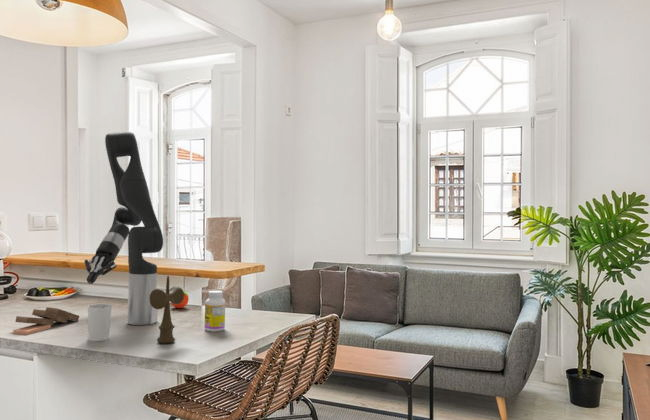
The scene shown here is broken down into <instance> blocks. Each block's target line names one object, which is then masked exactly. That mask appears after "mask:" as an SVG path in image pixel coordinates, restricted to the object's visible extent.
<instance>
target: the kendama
mask: <svg viewBox="0 0 650 420" xmlns="http://www.w3.org/2000/svg"><path fill="white" fill-rule="evenodd" d="M183 291H184V290H183V288H181V287H180V286H177V285H176V286H172V287H170V276H169V275H167V276H166V284H165V291H164V290H163V289H160V288H156V289H154V290H153V291H152V292H151V294H150V304H151V306H152V307H153V308H155V309H158V310H162V309H163V314H162V319H161V322H160V323H161V324H160V325H159V326H158V329H159V337H158V338H157V340H156V342H158V343H159V344H163V345H164V344H165V345H166V344H172V343H174V342H175V341H176V338H175V337H174V335H173V333H174V331H173V330H174V329H175V325H174V324H173V322H172V316H171V307H170V305H171V303H174V304H180V303H182V301H183V299H184V292H185V291H184V292H183Z"/></svg>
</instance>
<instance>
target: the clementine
mask: <svg viewBox="0 0 650 420" xmlns="http://www.w3.org/2000/svg"><path fill="white" fill-rule="evenodd" d="M183 292H184V299H183V301H182V303H180V304H174V303H171V302H170V305H172V307H174V308H176V309H183V308H185V307H186V306H187V305H188V303H189V299H190V297H189V294H188V293H187V292H186V291H184V290H183Z"/></svg>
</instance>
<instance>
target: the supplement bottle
mask: <svg viewBox="0 0 650 420" xmlns="http://www.w3.org/2000/svg"><path fill="white" fill-rule="evenodd" d="M207 294H208V298H207V299H206V300H205V302H204V330H205V331H206V332H210V331H211V332H213V333H214V332H215V333H216V332H217V333H218V332H222V331H224V330H225V328H226V300H225V298H223V295H224V293H223V290H209V291H208V293H207Z"/></svg>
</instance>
